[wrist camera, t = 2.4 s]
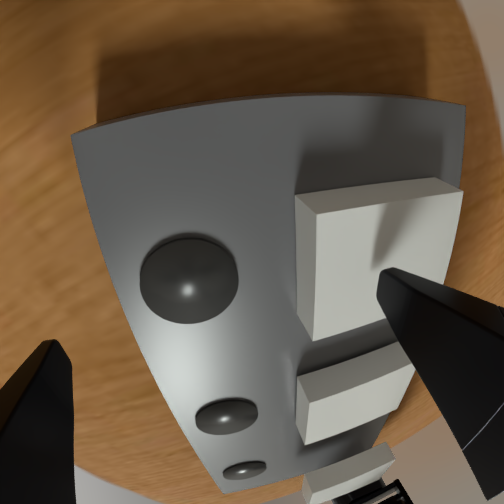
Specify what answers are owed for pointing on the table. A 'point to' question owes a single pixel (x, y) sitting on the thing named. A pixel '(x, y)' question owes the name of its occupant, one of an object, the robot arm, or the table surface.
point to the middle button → (351, 392)
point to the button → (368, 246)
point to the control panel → (246, 254)
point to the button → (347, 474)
